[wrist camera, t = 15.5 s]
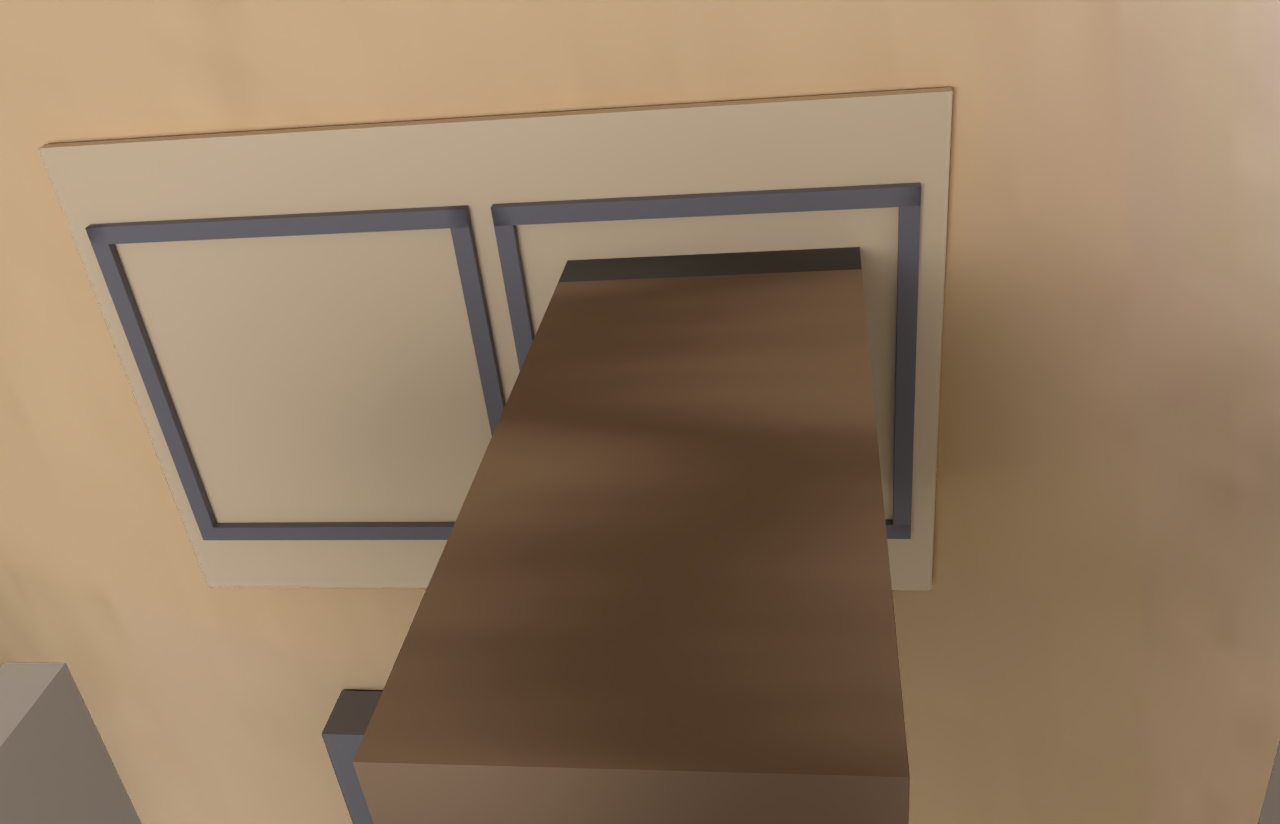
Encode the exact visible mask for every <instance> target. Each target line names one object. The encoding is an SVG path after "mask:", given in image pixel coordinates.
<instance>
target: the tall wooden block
mask: <svg viewBox="0 0 1280 824" xmlns="http://www.w3.org/2000/svg"><path fill="white" fill-rule="evenodd" d="M353 765H354V768H355V771H356V774H357V777H358V780H359V783H360V786H361V788H362V791H363V794H364V797H365V800H366V803H367V806H368V809H369V812H370V815H371V818H372V821H373V824H908V819H909V781H910V776H909V766H908V755H907V744H906V734H905V723H904V713H903V702H902V691H901V681H900V670H899V659H898V649H897V638H896V628H895V617H894V606H893V596H892V585H891V575H890V564H889V553H888V543H887V532H886V522H885V511H884V500H883V490H882V479H881V469H880V458H879V447H878V437H877V426H876V415H875V405H874V394H873V384H872V373H871V362H870V352H869V341H868V331H867V320H866V309H865V299H864V288H863V278H862V267H861V256H860V247H845V248H824V249H802V250H781V251H759V252H738V253H716V254H694V255H673V256H651V257H630V258H608V259H586V260H567V263H566V265H565V267H564V270H563V272H562V274H561V277H560V279H559V281H558V284H557V286H556V288H555V291H554V293H553V295H552V298H551V300H550V302H549V305H548V307H547V309H546V312H545V314H544V316H543V319H542V321H541V323H540V326H539V328H538V330H537V333H536V335H535V337H534V340H533V342H532V344H531V347H530V349H529V351H528V354H527V356H526V358H525V361H524V363H523V365H522V368H521V370H520V372H519V375H518V377H517V379H516V382H515V384H514V386H513V389H512V391H511V393H510V396H509V398H508V400H507V403H506V405H505V407H504V410H503V412H502V414H501V417H500V419H499V421H498V424H497V426H496V428H495V431H494V433H493V435H492V438H491V440H490V442H489V445H488V447H487V449H486V452H485V454H484V456H483V459H482V461H481V463H480V466H479V468H478V470H477V473H476V475H475V477H474V480H473V482H472V484H471V487H470V489H469V491H468V494H467V496H466V498H465V501H464V503H463V505H462V508H461V510H460V512H459V515H458V517H457V519H456V522H455V524H454V526H453V529H452V531H451V533H450V536H449V538H448V540H447V543H446V545H445V547H444V550H443V552H442V554H441V557H440V559H439V561H438V564H437V566H436V568H435V571H434V573H433V575H432V578H431V580H430V582H429V585H428V587H427V589H426V592H425V594H424V596H423V599H422V601H421V603H420V606H419V608H418V610H417V613H416V615H415V617H414V620H413V622H412V624H411V627H410V629H409V631H408V634H407V636H406V638H405V641H404V643H403V645H402V648H401V650H400V652H399V655H398V657H397V659H396V662H395V664H394V666H393V669H392V671H391V673H390V676H389V678H388V680H387V683H386V685H385V687H384V690H383V692H382V694H381V697H380V699H379V701H378V704H377V706H376V708H375V711H374V713H373V715H372V718H371V720H370V722H369V725H368V727H367V729H366V732H365V734H364V736H363V739H362V741H361V743H360V746H359V748H358V750H357V753H356V755H355V757H354V760H353Z"/></svg>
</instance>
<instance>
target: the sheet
mask: <svg viewBox="0 0 1280 824" xmlns="http://www.w3.org/2000/svg"><path fill="white" fill-rule="evenodd" d="M952 93H953V91H952V88H951V87H944V88H928V89H913V90H897V91H881V92H865V93H849V94H833V95H817V96H802V97H786V98H770V99H754V100H738V101H722V102H706V103H691V104H675V105H659V106H643V107H627V108H611V109H596V110H580V111H564V112H548V113H532V114H516V115H500V116H485V117H469V118H453V119H437V120H421V121H405V122H390V123H374V124H358V125H342V126H326V127H310V128H294V129H279V130H263V131H247V132H231V133H215V134H199V135H183V136H168V137H152V138H136V139H120V140H104V141H88V142H73V143H57V144H45V145H43V146H42V147H40V148H38V149H39V151H40V154H41V157H42V159H43V162H44V164H45V167H46V170H47V172H48V175H49V177H50V180H51V182H52V185H53V188H54V190H55V193H56V195H57V198H58V201H59V203H60V206H61V208H62V211H63V213H64V216H65V219H66V221H67V224H68V226H69V229H70V232H71V234H72V237H73V239H74V242H75V245H76V247H77V250H78V252H79V255H80V257H81V260H82V263H83V265H84V268H85V270H86V273H87V276H88V278H89V281H90V283H91V286H92V289H93V291H94V294H95V296H96V299H97V301H98V304H99V307H100V309H101V312H102V314H103V317H104V320H105V322H106V325H107V327H108V330H109V332H110V335H111V338H112V340H113V343H114V345H115V348H116V351H117V353H118V356H119V358H120V361H121V364H122V366H123V369H124V371H125V374H126V376H127V379H128V382H129V384H130V387H131V389H132V392H133V395H134V397H135V400H136V402H137V405H138V407H139V410H140V413H141V415H142V418H143V420H144V423H145V426H146V428H147V431H148V433H149V436H150V439H151V441H152V444H153V446H154V449H155V451H156V454H157V457H158V459H159V462H160V464H161V467H162V470H163V472H164V475H165V477H166V480H167V483H168V485H169V488H170V490H171V493H172V495H173V498H174V501H175V503H176V506H177V508H178V511H179V514H180V516H181V519H182V521H183V524H184V526H185V529H186V532H187V534H188V537H189V539H190V542H191V545H192V547H193V550H194V552H195V555H196V558H197V560H198V563H199V565H200V568H201V570H202V573H203V576H204V578H205V581H206V583H207V586H208V587H297V588H427V587H428V585H429V582H430V580H431V578H432V575H433V573H434V571H435V568H436V566H437V564H438V561H439V559H440V557H441V554H442V552H443V550H444V547H445V545H446V543H447V540H448V538H449V536H450V533H451V531H452V529H453V526H454V524H455V522H456V519H457V517H458V515H459V512H460V510H461V508H462V505H463V503H464V501H465V498H466V496H467V494H468V491H469V489H470V487H471V484H472V482H473V480H474V477H475V475H476V473H477V470H478V468H479V466H480V463H481V461H482V459H483V456H484V454H485V452H486V449H487V447H488V445H489V442H490V440H491V438H492V435H493V433H494V431H495V428H496V426H497V424H498V421H499V419H500V417H501V414H502V412H503V410H504V407H505V405H506V403H507V400H508V398H509V396H510V393H511V391H512V389H513V386H514V384H515V382H516V379H517V377H518V375H519V372H520V370H521V368H522V365H523V363H524V361H525V358H526V356H527V354H528V351H529V349H530V347H531V344H532V342H533V340H534V337H535V335H536V333H537V330H538V328H539V326H540V323H541V321H542V319H543V316H544V314H545V312H546V309H547V307H548V305H549V302H550V300H551V298H552V295H553V293H554V291H555V288H556V286H557V284H558V281H559V279H560V277H561V274H562V272H563V270H564V267H565V265H566V263H567V260H586V259H608V258H630V257H651V256H673V255H694V254H716V253H738V252H759V251H781V250H802V249H824V248H845V247H860V256H861V267H862V278H863V288H864V299H865V309H866V320H867V331H868V341H869V352H870V362H871V373H872V384H873V394H874V405H875V415H876V426H877V437H878V447H879V458H880V469H881V479H882V490H883V500H884V511H885V522H886V532H887V543H888V553H889V564H890V575H891V585H892V591H931V583H932V560H933V537H934V513H935V490H936V467H937V443H938V420H939V396H940V373H941V350H942V326H943V303H944V280H945V256H946V233H947V209H948V186H949V163H950V139H951V116H952Z"/></svg>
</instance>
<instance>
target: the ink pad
mask: <svg viewBox="0 0 1280 824" xmlns="http://www.w3.org/2000/svg"><path fill="white" fill-rule="evenodd" d="M382 692H383V691H342V692H341V694H340V696H339V698H338V700H337V702H336V704H335V707H334V709H333V711H332V713H331V715H330V717H329V719H328V721H327V724H326V726H325V728H324V730H323V732H322V737H323V739H324V742H325V745H326V748H327V751H328V754H329V757H330V759H331V762H332V765H333V768H334V771H335V774H336V777H337V779H338V782H339V785H340V788H341V791H342V794H343V797H344V799H345V802H346V805H347V808H348V811H349V814H350V817H351V820H352V822H353V824H373V821H372V818H371V815H370V812H369V809H368V806H367V803H366V800H365V797H364V794H363V791H362V788H361V786H360V783H359V780H358V777H357V774H356V771H355V768H354V765H353V760H354V757H355V755H356V753H357V750H358V748H359V746H360V743H361V741H362V739H363V736H364V734H365V732H366V729H367V727H368V725H369V722H370V720H371V718H372V715H373V713H374V711H375V708H376V706H377V704H378V701H379V699H380V697H381V694H382Z"/></svg>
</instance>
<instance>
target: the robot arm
mask: <svg viewBox="0 0 1280 824" xmlns="http://www.w3.org/2000/svg"><path fill="white" fill-rule="evenodd" d="M0 824H142V823H141V821H140V819H139V817H138V815H137V813H136V811H135V809H134V806H133V804H132V802H131V800H130V798H129V796H128V794H127V792H126V790H125V787H124V785H123V783H122V781H121V779H120V777H119V775H118V773H117V770H116V768H115V766H114V764H113V762H112V760H111V758H110V756H109V754H108V751H107V749H106V747H105V745H104V743H103V741H102V739H101V737H100V735H99V732H98V730H97V728H96V726H95V724H94V722H93V720H92V718H91V715H90V713H89V711H88V709H87V707H86V705H85V703H84V701H83V699H82V696H81V694H80V692H79V690H78V688H77V686H76V684H75V682H74V680H73V677H72V675H71V673H70V671H69V669H68V667H67V665H66V663H30V662H5V663H4V664H3V665H2V666H1V667H0ZM1258 824H1280V742H1279V746H1278V750H1277V753H1276V757H1275V761H1274V765H1273V769H1272V773H1271V776H1270V780H1269V784H1268V788H1267V792H1266V796H1265V799H1264V803H1263V807H1262V811H1261V815H1260V819H1259V822H1258Z"/></svg>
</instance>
